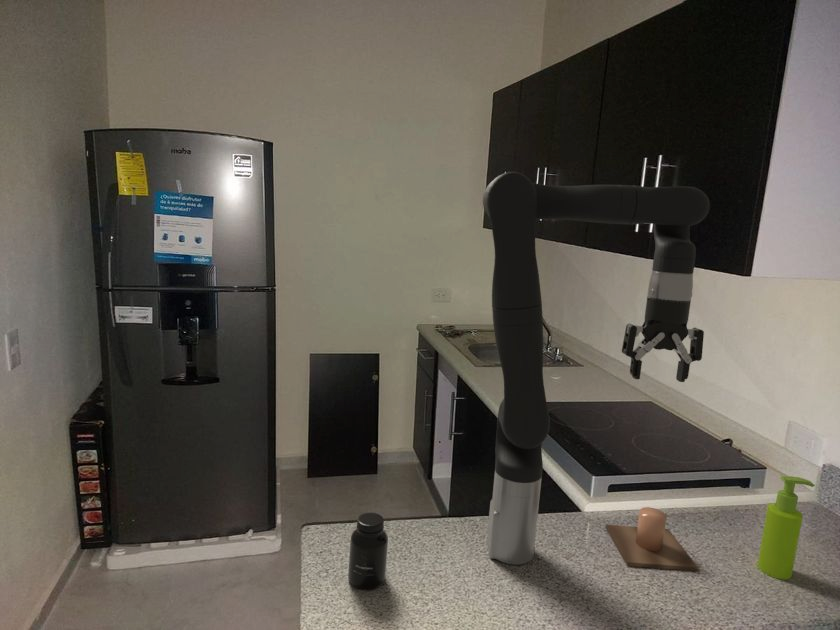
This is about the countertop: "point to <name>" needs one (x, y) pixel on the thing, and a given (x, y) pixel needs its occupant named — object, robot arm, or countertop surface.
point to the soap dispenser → (781, 531)
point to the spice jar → (650, 529)
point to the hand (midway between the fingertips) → (657, 379)
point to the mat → (639, 557)
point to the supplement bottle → (368, 552)
